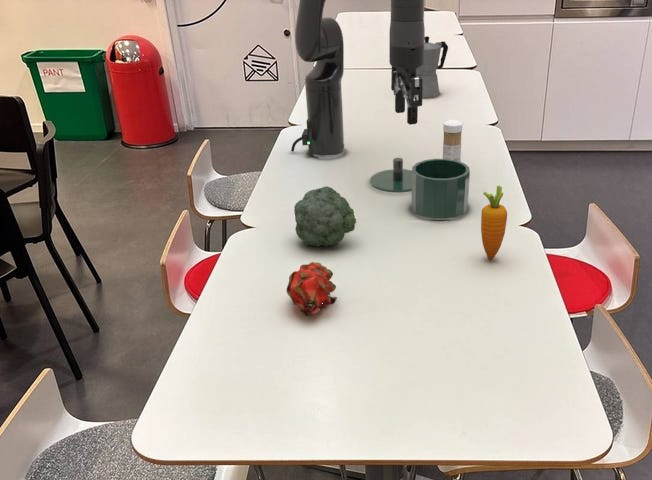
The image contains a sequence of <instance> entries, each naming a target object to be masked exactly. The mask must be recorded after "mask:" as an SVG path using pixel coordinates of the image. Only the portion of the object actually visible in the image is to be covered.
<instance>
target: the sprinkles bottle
mask: <svg viewBox="0 0 652 480" xmlns="http://www.w3.org/2000/svg"><path fill="white" fill-rule="evenodd" d="M442 130H443V143H442V159H450V160H456V161H459V162H461V157H462V133H463V132H462V131H463V122H462V121H460V120H459V119H458V120H457V119H449V120H448V119H447V120H445V121H444V122H443V125H442Z"/></svg>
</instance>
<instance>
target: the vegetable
mask: <svg viewBox="0 0 652 480" xmlns="http://www.w3.org/2000/svg"><path fill="white" fill-rule="evenodd" d="M293 207H294V210H293V211H294V213H293V214H294V220H295V223H296V224H295V233H296V235H297V237H298V238H299V239H300V240H302V242H303V243H304V244H305V245H307V246H314V247H320V246H324V247H325V248H329V247H330V246H338V244H339V243H340V242H341V241H342V240H343V238H344V237H345V235H346V234H347V233H350V232H353V231H355V229H356V224H357V218H355V211H354V209H353V208H352V207H351V206H350V203H349V201H348V200H347V199H346V197H344V196H342V195H341V194H340V193H339V192H337V190H335V189H333V188H332V187H330V186H327V185H326V186H323V187H320V188H319V187H318V188H315V189H311V190H308V191H307V192H306V193H305V194H304V196H303V197H302V198H301V200H300V199H299V200H298V201H297V202H296V203H295V204H294V206H293Z"/></svg>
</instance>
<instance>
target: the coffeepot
mask: <svg viewBox="0 0 652 480" xmlns="http://www.w3.org/2000/svg"><path fill="white" fill-rule="evenodd" d="M441 49H442V50H441ZM441 51H442V54H441ZM448 51H449V46H448V44H447V43H446V41H445V40H443V41H440V42H439V41H438V42H437V41H436V42H435V43H434V42H430V37H429V36H426V35H425V41H424V64H423V65H422V66H421V67H418V68H417V69H416V73H417V76H418V77H422V80H423V81H422V99H433V98H437V97H438V96H439V95H440V87H439V86H440V85H439V81H438V80H439V78H438V74H437V70H440V69H443V68H444V65H445V61H446V59H447V54H448ZM440 56H441V58H440ZM439 62H440V64H439Z"/></svg>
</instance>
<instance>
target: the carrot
mask: <svg viewBox="0 0 652 480" xmlns="http://www.w3.org/2000/svg"><path fill="white" fill-rule="evenodd" d="M482 195H484V197H486V199H487V200H488V201H489V203H488V204H487V205H484V207H482V209H481V216H480V217H481V218H480V233H481V241H482V245H483V250H484V253H485V254H486V257H487V259H488V260H489V261H492V260H493V259H494V258H495V257H496V256H497V254H498V252H499V251H500V249H501V247H502V243H503V240H504V237H505V234H506V227H507V223H508V222H507V221H508V210H507V208H506V207H505V206H504V205H503V204H500V202H501V200H502V199H503V196H504V192H503V187H502V186H501V185H497V186H496V194H495V195H494V194H493V193H488V192H486V191H484V192H483V194H482Z"/></svg>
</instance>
